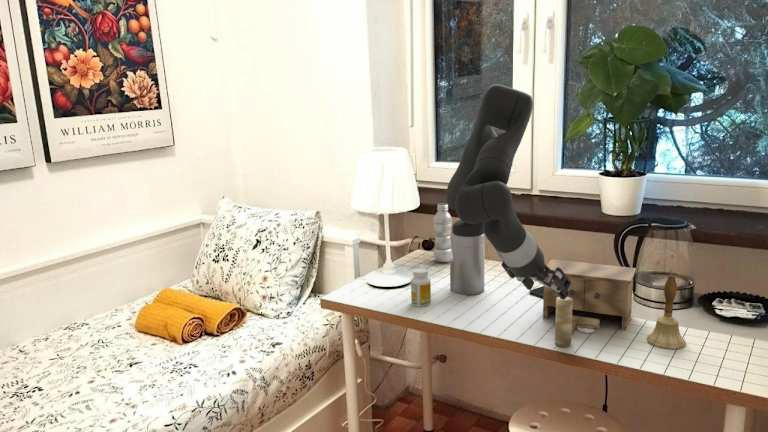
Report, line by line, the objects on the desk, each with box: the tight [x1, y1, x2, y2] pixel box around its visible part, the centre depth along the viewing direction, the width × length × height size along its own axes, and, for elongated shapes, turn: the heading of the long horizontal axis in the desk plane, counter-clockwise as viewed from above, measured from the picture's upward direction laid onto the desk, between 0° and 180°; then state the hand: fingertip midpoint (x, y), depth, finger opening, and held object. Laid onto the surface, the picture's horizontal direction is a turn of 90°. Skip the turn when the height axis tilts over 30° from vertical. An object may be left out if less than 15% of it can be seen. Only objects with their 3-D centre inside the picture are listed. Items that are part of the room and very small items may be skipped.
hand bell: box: [646, 274, 687, 350], centre depth 138 cm, size 8×8×16 cm
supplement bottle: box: [410, 268, 432, 308], centre depth 168 cm, size 5×5×10 cm
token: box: [576, 324, 597, 335], centre depth 147 cm, size 4×4×1 cm
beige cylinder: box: [554, 297, 600, 349], centre depth 143 cm, size 10×15×11 cm, turn 152°
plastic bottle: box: [433, 202, 453, 263], centre depth 205 cm, size 6×7×20 cm
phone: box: [529, 285, 544, 300], centre depth 170 cm, size 8×1×15 cm
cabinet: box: [542, 258, 637, 331], centre depth 154 cm, size 21×12×13 cm, turn 62°
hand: (547, 291), depth 133 cm, fingers open, 8 cm apart
